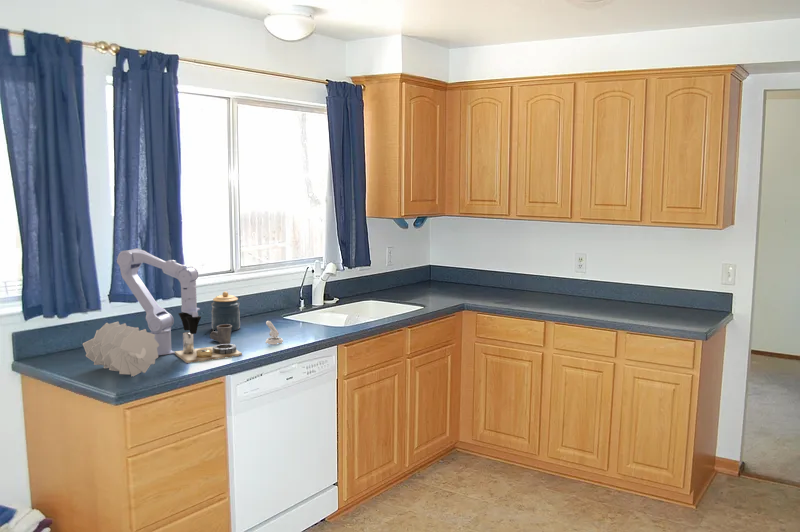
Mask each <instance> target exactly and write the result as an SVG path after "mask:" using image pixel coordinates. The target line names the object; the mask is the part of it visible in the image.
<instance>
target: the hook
mask: <svg viewBox="0 0 800 532" xmlns="http://www.w3.org/2000/svg"><path fill="white" fill-rule="evenodd" d="M265 324H266V326H267V327H268V329H270V330H269V331H270V332H269V336H270V337H268V338H266V340H265V343H266V344H267V343H268V344H267V345H278V344H277V343H281V344H283V343H284V339H283V338H282V337H279V331H278V329H276V327H275V326H274V324H273V323H272V321H271V320H267V321H266V322H265ZM282 342H283V343H282Z"/></svg>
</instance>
